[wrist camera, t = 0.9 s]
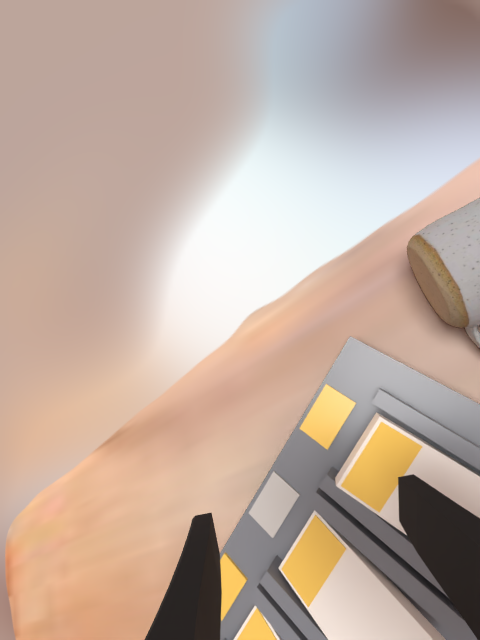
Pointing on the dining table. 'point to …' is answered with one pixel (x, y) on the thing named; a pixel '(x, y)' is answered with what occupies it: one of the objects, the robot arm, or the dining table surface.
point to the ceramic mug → (451, 267)
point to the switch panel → (344, 494)
